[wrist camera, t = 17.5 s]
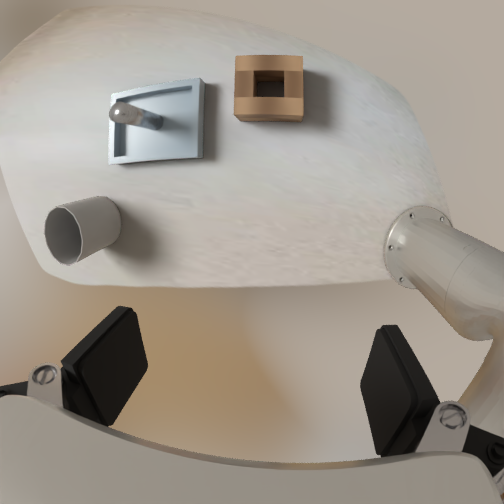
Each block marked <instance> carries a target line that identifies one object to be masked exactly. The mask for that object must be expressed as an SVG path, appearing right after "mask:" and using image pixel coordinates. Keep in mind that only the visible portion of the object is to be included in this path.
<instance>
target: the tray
mask: <svg viewBox="0 0 504 504" xmlns="http://www.w3.org/2000/svg"><path fill="white" fill-rule="evenodd" d="M204 96H205V82H204V81H203V80H202V79H201V78H194V79H186V80H179V81H172V82H166V83H160V84H155V85H149V86H144V87H140V88H135V89H131V90H126V91H122V92H118V93H114V94H111V106H110V109H111V107H112V106H113V105H114V104H115V103H116V102H124V103H127V104H130V105H133V106H136V107H139V108H142V109H145V110H147V111H150V112H153V113H156V114H158V115H161V116H162V118H163V125H162V127H161V128H160V129H158V130H150V129H145V128H141V127H136V126H132V125H127V124H122V123H117V122H113V121H112V120H111V119H110V122H109V165H113V164H125V163H134V162H144V161H156V160H170V159H187V158H203V127H204Z"/></svg>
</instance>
